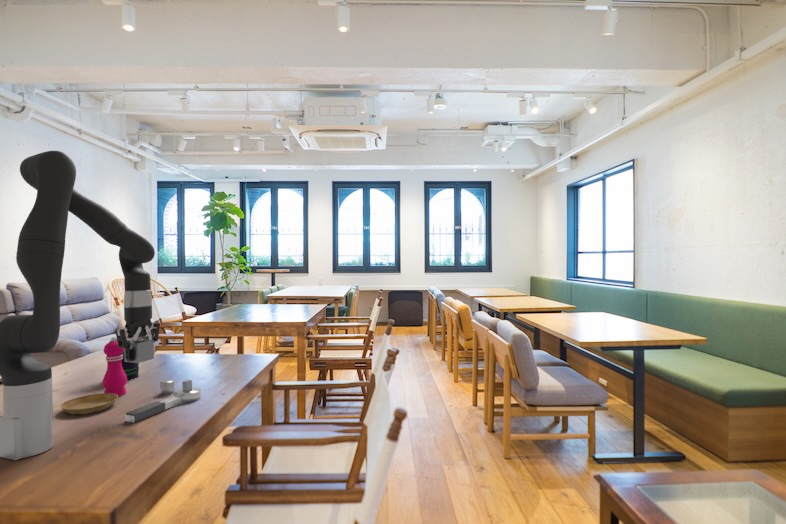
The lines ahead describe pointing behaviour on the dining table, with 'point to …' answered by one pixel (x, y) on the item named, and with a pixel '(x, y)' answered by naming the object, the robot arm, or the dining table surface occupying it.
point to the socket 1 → (142, 350)
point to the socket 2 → (167, 387)
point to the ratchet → (165, 403)
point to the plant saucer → (89, 403)
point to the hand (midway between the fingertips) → (139, 358)
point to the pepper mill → (114, 369)
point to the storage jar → (130, 368)
